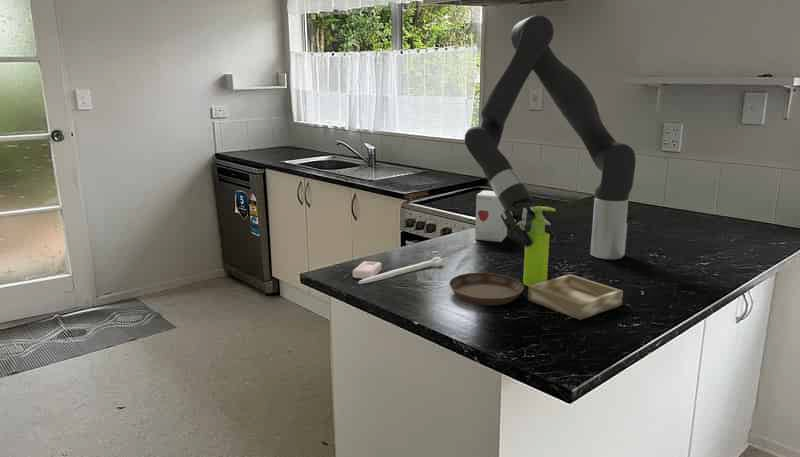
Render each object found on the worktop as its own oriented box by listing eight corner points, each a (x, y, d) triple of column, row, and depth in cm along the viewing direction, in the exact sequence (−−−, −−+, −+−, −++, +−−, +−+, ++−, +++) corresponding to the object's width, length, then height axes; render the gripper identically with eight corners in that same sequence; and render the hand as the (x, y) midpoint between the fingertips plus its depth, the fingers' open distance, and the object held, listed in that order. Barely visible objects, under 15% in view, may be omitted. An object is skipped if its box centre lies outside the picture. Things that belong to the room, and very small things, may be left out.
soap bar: (352, 278, 157) (351, 270, 157) (363, 268, 166) (363, 260, 165) (371, 280, 156) (371, 271, 155) (382, 270, 164) (382, 261, 164)
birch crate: (569, 287, 149) (569, 274, 149) (621, 304, 138) (623, 290, 137) (527, 300, 141) (528, 285, 140) (580, 320, 129) (581, 304, 128)
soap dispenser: (551, 288, 148) (556, 210, 144) (523, 286, 150) (526, 209, 145) (550, 281, 154) (555, 205, 149) (523, 279, 155) (526, 204, 151)
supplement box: (474, 239, 194) (475, 194, 190) (481, 233, 202) (482, 189, 199) (501, 242, 191) (503, 196, 187) (507, 235, 199) (509, 191, 195)
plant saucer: (536, 304, 139) (537, 292, 138) (465, 313, 134) (466, 300, 133) (502, 280, 155) (503, 269, 154) (438, 287, 150) (438, 276, 150)
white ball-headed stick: (365, 288, 150) (365, 278, 149) (356, 284, 153) (355, 274, 152) (446, 267, 167) (446, 257, 166) (436, 263, 170) (436, 254, 169)
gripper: (498, 184, 148) (531, 239, 142) (537, 179, 156) (569, 230, 150) (482, 202, 153) (513, 255, 147) (521, 196, 162) (551, 246, 155)
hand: (541, 242), depth 148 cm, fingers open, 8 cm apart
